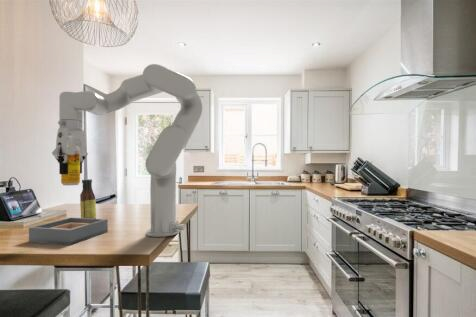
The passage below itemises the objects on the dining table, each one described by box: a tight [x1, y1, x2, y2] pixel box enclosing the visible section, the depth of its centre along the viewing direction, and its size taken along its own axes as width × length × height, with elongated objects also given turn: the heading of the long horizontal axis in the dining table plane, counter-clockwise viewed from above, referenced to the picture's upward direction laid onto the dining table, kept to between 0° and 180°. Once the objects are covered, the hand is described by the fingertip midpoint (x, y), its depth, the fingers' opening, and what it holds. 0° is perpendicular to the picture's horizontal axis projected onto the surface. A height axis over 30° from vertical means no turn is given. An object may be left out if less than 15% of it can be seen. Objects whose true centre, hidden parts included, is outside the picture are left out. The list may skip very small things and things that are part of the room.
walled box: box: [28, 217, 109, 246], centre depth 107 cm, size 18×18×5 cm
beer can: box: [60, 146, 81, 186], centre depth 107 cm, size 6×6×15 cm
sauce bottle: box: [79, 178, 97, 219], centre depth 132 cm, size 7×6×20 cm
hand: (71, 173), depth 107 cm, fingers closed on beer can, 5 cm apart
